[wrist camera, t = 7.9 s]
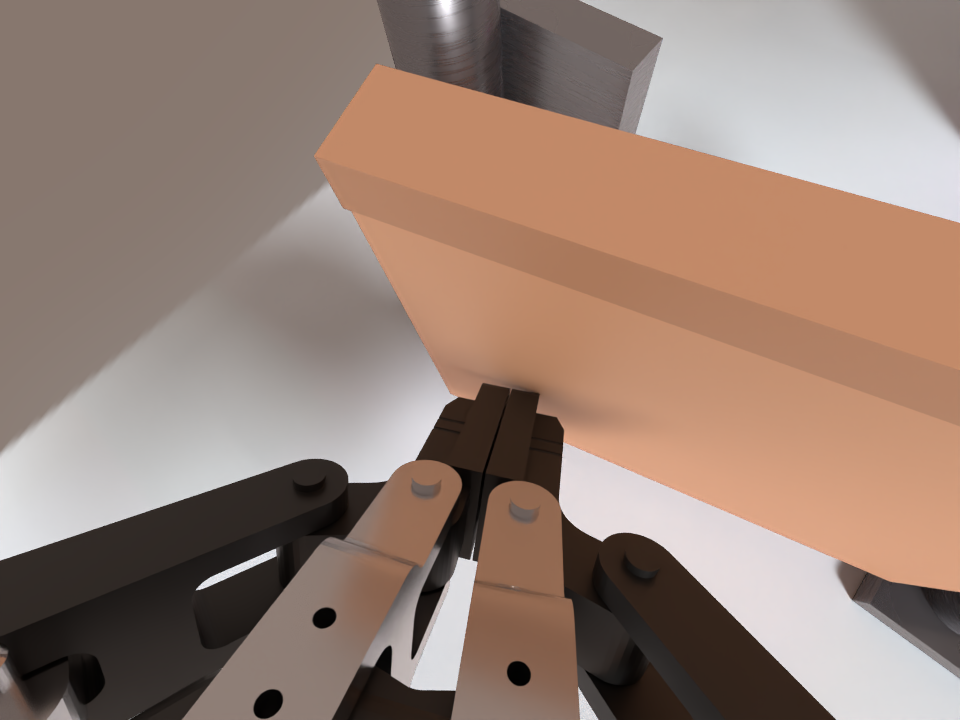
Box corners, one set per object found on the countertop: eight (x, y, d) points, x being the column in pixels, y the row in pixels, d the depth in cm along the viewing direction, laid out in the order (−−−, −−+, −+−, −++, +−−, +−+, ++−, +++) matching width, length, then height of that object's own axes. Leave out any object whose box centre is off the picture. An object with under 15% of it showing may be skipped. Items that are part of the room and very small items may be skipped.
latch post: (591, 290, 19) (750, -251, 6) (530, 366, 18) (551, -66, 5) (476, 216, 20) (393, -338, 7) (415, 282, 20) (199, -209, 7)
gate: (898, 530, 14) (2145, 545, 3) (889, 585, 13) (2291, 811, 3) (469, 356, 17) (376, 63, 6) (449, 396, 16) (313, 156, 6)
